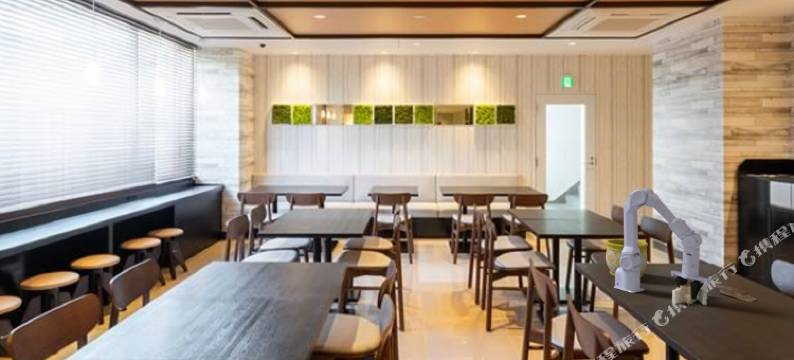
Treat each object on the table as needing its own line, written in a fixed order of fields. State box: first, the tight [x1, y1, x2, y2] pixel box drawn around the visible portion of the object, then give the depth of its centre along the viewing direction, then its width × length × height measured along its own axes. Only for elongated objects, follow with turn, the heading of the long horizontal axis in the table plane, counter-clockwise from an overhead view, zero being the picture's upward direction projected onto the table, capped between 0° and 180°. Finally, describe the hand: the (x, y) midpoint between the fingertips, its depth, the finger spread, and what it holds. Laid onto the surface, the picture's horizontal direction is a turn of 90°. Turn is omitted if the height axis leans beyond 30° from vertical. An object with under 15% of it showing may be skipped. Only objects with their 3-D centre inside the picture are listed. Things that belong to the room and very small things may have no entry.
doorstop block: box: [680, 283, 697, 304], centre depth 201 cm, size 4×4×6 cm
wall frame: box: [671, 284, 708, 305], centre depth 202 cm, size 2×21×6 cm, turn 118°
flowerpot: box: [605, 238, 649, 279], centre depth 239 cm, size 18×18×16 cm
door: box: [696, 288, 709, 306], centre depth 199 cm, size 2×10×5 cm, turn 164°
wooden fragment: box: [714, 283, 758, 303], centre depth 211 cm, size 26×11×1 cm, turn 169°
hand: (688, 297), depth 201 cm, fingers closed on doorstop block, 4 cm apart
